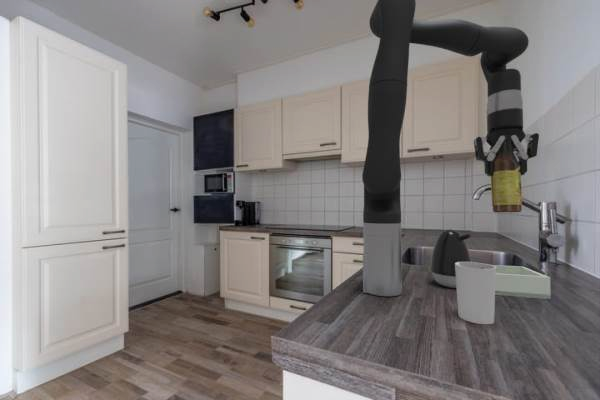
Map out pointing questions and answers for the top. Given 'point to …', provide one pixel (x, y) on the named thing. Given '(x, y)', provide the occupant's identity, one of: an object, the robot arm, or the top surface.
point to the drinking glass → (475, 291)
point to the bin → (521, 282)
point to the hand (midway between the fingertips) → (505, 175)
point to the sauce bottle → (506, 180)
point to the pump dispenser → (448, 256)
